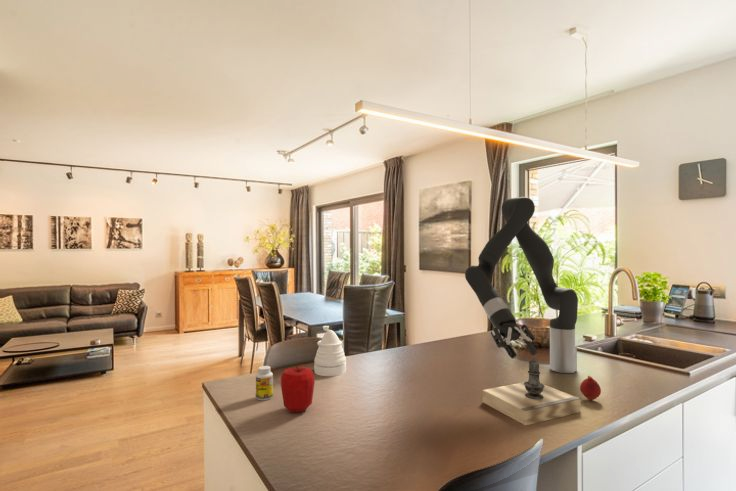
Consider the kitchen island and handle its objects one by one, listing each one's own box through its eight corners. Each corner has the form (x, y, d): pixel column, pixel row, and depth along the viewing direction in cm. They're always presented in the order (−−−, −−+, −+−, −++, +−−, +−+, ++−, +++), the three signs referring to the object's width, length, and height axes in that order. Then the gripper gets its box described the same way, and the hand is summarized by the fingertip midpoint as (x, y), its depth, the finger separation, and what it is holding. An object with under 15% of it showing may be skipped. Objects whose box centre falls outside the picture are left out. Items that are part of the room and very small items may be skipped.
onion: (598, 398, 130) (598, 373, 130) (602, 404, 125) (602, 379, 125) (578, 396, 132) (578, 372, 132) (582, 402, 127) (581, 377, 127)
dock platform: (533, 391, 136) (533, 379, 136) (580, 412, 120) (580, 398, 120) (482, 402, 127) (482, 389, 127) (525, 425, 111) (525, 410, 111)
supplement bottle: (252, 400, 130) (252, 369, 130) (261, 394, 136) (261, 364, 136) (267, 402, 129) (267, 370, 129) (276, 395, 134) (275, 365, 134)
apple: (298, 419, 115) (298, 373, 115) (273, 412, 121) (273, 367, 121) (321, 407, 124) (321, 364, 124) (297, 400, 130) (296, 359, 130)
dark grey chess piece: (546, 400, 118) (546, 360, 118) (525, 399, 120) (525, 359, 120) (542, 393, 124) (541, 355, 124) (522, 392, 125) (522, 354, 125)
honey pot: (308, 374, 157) (308, 328, 157) (323, 364, 169) (323, 322, 169) (337, 377, 152) (337, 331, 152) (351, 368, 164) (351, 324, 164)
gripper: (487, 308, 131) (513, 352, 120) (520, 305, 137) (548, 346, 126) (477, 322, 136) (501, 364, 125) (509, 318, 141) (535, 358, 131)
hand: (524, 355), depth 126 cm, fingers open, 8 cm apart
